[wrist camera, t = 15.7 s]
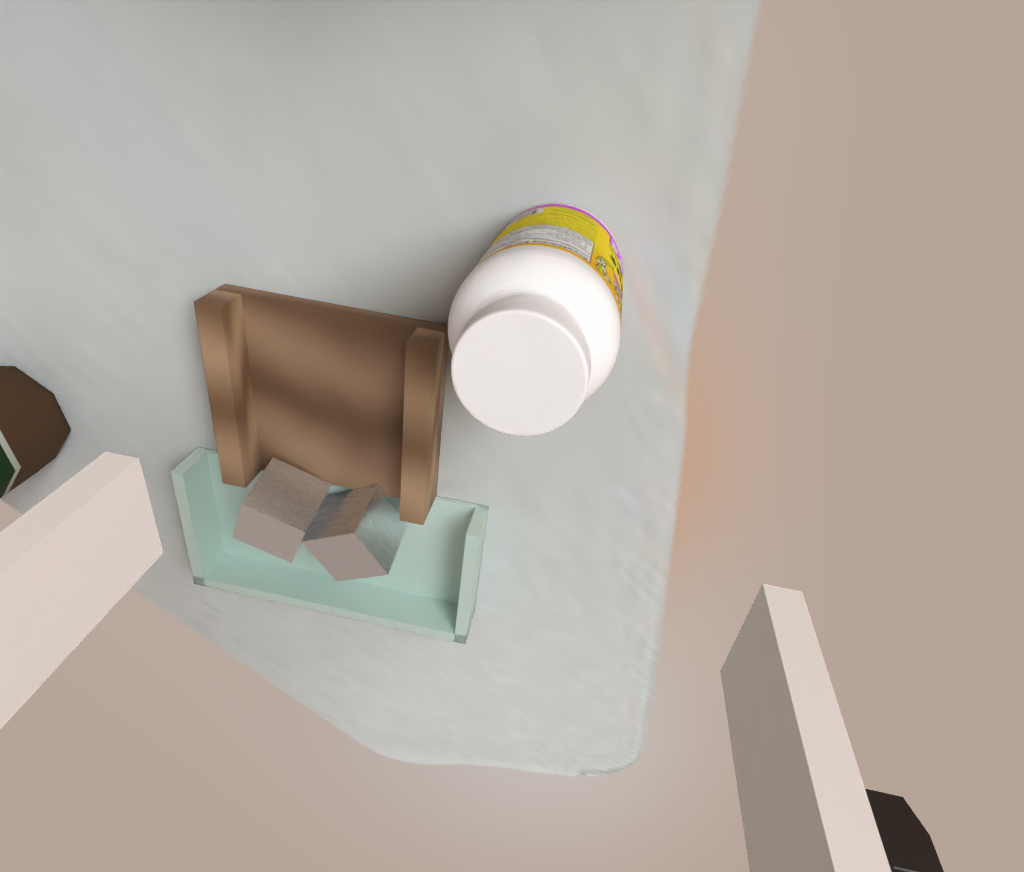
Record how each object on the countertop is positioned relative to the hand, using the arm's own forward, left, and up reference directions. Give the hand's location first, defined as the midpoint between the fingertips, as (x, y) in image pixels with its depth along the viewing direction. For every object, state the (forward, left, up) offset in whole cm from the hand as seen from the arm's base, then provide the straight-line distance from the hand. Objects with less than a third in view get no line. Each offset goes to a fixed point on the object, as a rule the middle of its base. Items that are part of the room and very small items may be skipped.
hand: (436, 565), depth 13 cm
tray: (+21, -11, -22) cm, 32 cm away
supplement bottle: (0, 0, -22) cm, 22 cm away
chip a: (+17, -14, -21) cm, 31 cm away
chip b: (+18, -9, -21) cm, 29 cm away
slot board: (+10, -11, -22) cm, 27 cm away
